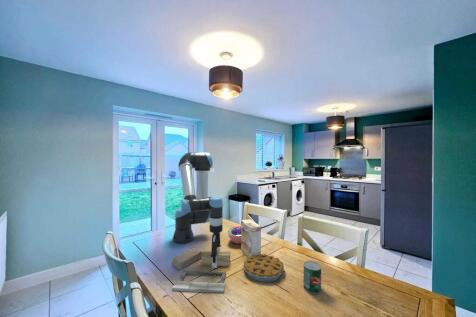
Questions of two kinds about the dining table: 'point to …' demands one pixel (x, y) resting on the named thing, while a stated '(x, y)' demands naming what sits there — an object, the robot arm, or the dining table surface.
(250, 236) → the coffeecake box
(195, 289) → the floor panel
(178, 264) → the brick
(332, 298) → the dining table surface
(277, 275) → the pie
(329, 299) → the dining table surface
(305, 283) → the canned tomato
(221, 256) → the plank
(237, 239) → the cell model
